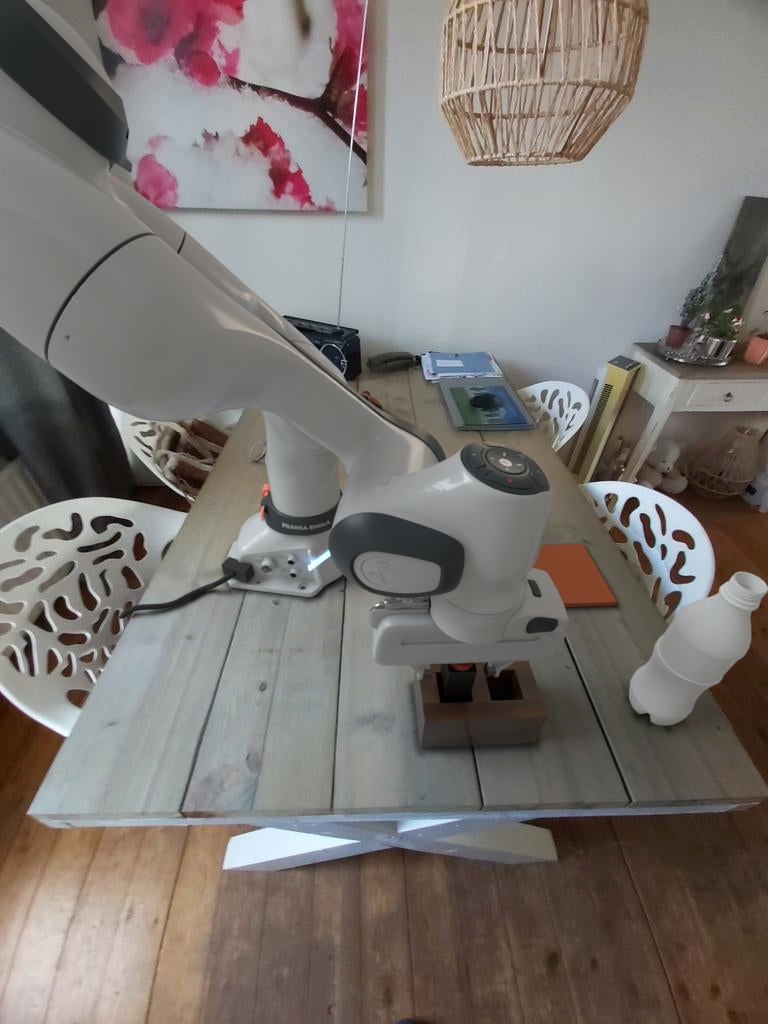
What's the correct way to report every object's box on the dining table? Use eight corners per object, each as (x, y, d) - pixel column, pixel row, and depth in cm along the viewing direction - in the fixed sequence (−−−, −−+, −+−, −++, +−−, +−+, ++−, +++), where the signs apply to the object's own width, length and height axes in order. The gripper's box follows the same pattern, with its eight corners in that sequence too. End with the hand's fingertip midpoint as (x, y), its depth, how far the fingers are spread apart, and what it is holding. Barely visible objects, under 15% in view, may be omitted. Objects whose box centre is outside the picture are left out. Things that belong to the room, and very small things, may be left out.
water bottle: (656, 741, 56) (768, 621, 41) (611, 694, 61) (694, 570, 45) (692, 716, 59) (809, 594, 43) (645, 672, 64) (735, 549, 48)
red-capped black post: (437, 726, 57) (450, 667, 48) (434, 702, 60) (445, 642, 51) (461, 725, 57) (478, 666, 49) (457, 701, 60) (472, 641, 51)
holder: (534, 743, 56) (548, 716, 52) (420, 748, 55) (424, 722, 51) (515, 681, 62) (526, 653, 58) (413, 685, 62) (416, 657, 57)
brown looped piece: (388, 427, 121) (376, 406, 114) (358, 439, 123) (344, 420, 117) (384, 398, 128) (371, 377, 121) (355, 411, 130) (341, 391, 124)
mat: (533, 608, 73) (534, 604, 72) (509, 549, 84) (510, 545, 83) (615, 605, 73) (617, 601, 73) (581, 547, 84) (583, 543, 84)
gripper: (370, 627, 40) (370, 702, 49) (586, 620, 42) (548, 695, 50) (368, 576, 45) (368, 652, 54) (561, 571, 46) (531, 647, 55)
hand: (456, 673), depth 52 cm, fingers open, 7 cm apart
